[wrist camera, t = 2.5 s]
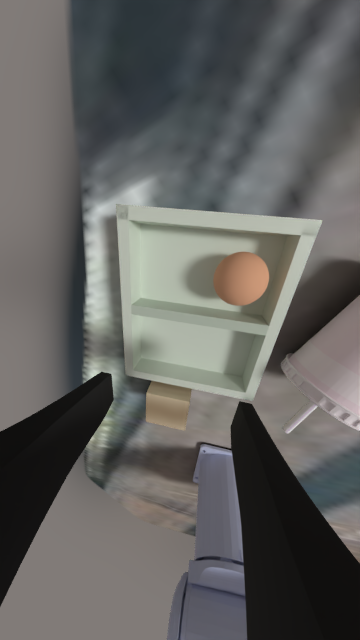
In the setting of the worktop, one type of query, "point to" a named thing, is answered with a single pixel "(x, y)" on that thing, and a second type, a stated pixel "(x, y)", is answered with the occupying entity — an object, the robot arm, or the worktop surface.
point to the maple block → (167, 405)
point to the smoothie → (329, 370)
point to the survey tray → (203, 295)
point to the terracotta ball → (241, 278)
